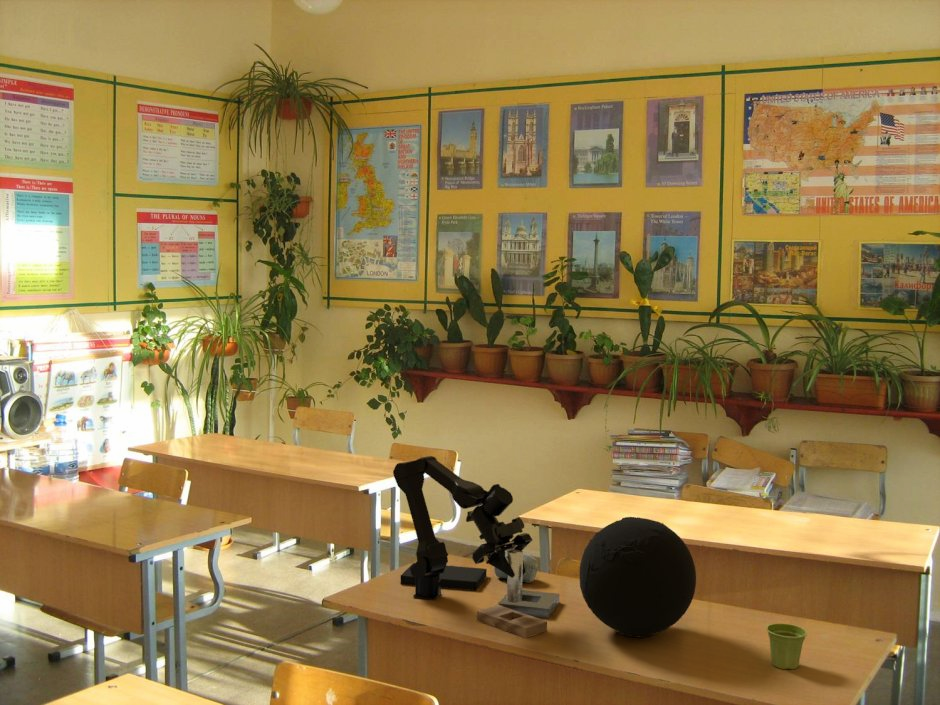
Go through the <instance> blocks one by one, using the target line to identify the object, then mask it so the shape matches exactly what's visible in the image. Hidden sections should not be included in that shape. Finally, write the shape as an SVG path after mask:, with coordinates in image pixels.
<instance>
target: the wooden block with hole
mask: <svg viewBox="0 0 940 705" xmlns="http://www.w3.org/2000/svg"><path fill="white" fill-rule="evenodd" d="M475 621H477V622H481V623H484V624H485V625H486V624H487V625H489V626H492V627H494V628H497V629H500V630H504V631H506V632H509V633H510V634H511V633H512V634H514V635H517V636H519V637H521V638H526V639H527V638H529V637H532V636H536V635H539V634H542V633H544V632H547V631H548V621H547V620H544V619H543V618H542V619H541V618H540V617H535V616H530V615H527V614H524V613H521V612H518V611H515V610H512V609H509V608H506V607H503V606H500V605H498V604H495V605H491V606H488V607H485V608H482V609H479V610H476V620H475Z"/></svg>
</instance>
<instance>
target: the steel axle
mask: <svg viewBox="0 0 940 705" xmlns="http://www.w3.org/2000/svg"><path fill="white" fill-rule="evenodd" d="M523 554H524V551H523V550H522V551H520V550H509V551H508V563H509V564H510V566H511V568H512V570H513V572H514V574H515V576H514V577H513V578H511V577H510V576H508V575H507V580H506V594H507V601H508V602H512V603H518V602H521V601H522V590H523V582H522V575H523Z"/></svg>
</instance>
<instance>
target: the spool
mask: <svg viewBox="0 0 940 705" xmlns="http://www.w3.org/2000/svg"><path fill="white" fill-rule="evenodd" d="M507 556H508V553H507V551H505V557H507ZM506 559H507V558H506ZM507 561H508V559H507ZM523 562H524V567H525V571H526V572H525V574H523V575H522V583H523V582H524V583H528V584H529V583H532V582H534V581H535V579H536V577H537V573H538V569H539V564H538V561H537V559H536V558H535V557H532V556H530V555H527V554H524V553H523ZM493 567H494V566H493ZM493 569H494V570H493V571H494V575H495V576H496V577H497V578H500V579H507V574H505V573H504V572H502V571H501V570H499V569H497V568H496V567H494V568H493Z"/></svg>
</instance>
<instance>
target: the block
mask: <svg viewBox="0 0 940 705" xmlns="http://www.w3.org/2000/svg"><path fill="white" fill-rule="evenodd" d="M559 604H560V593H556V592H555V593H554V592H547V591H537V590H536V591H535V590H530V589H529V590H528V589H522V601H521V602H518V603H512V602H508V601H507V593H506V594H505V595H504V596H503V598H502V599H501V600H500V601H499V602H498V604H497V605H500V606H503V607H506V608H509V609H512V610H515V611H518V612H521V613H524V614H527V615H530V616H533V617H536V618H546V619H549V618H550V616H551V615H552V614H553V612H554V611H555V609H556V608H557V606H559Z"/></svg>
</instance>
